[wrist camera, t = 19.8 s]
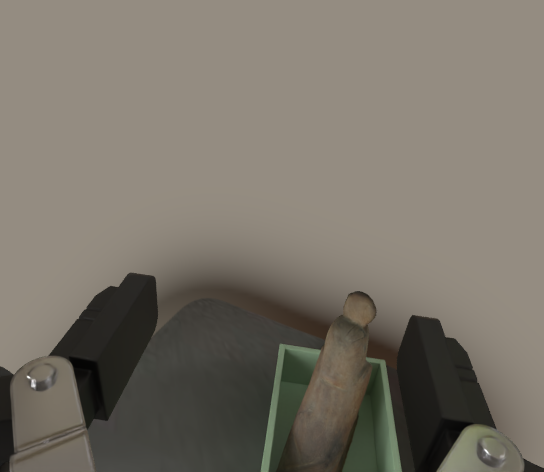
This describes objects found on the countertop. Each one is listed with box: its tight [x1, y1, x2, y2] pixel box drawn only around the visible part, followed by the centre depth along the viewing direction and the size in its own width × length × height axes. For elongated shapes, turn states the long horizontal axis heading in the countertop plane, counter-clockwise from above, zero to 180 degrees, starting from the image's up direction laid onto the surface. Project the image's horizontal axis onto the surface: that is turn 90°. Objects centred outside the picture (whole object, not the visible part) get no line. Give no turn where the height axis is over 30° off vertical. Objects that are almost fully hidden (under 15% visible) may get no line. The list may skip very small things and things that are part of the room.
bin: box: [261, 344, 402, 472], centre depth 38 cm, size 11×16×6 cm
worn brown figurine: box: [276, 291, 376, 472], centre depth 37 cm, size 12×6×18 cm, turn 148°
